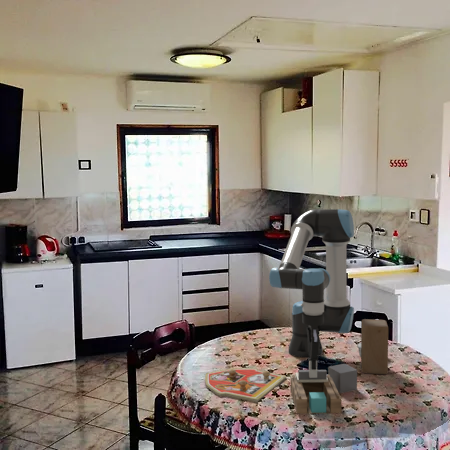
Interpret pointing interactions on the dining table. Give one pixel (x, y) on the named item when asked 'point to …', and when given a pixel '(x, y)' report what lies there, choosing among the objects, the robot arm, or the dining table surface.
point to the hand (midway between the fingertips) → (313, 376)
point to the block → (317, 402)
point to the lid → (304, 377)
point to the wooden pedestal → (303, 388)
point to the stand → (343, 377)
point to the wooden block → (374, 346)
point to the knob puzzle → (242, 383)
